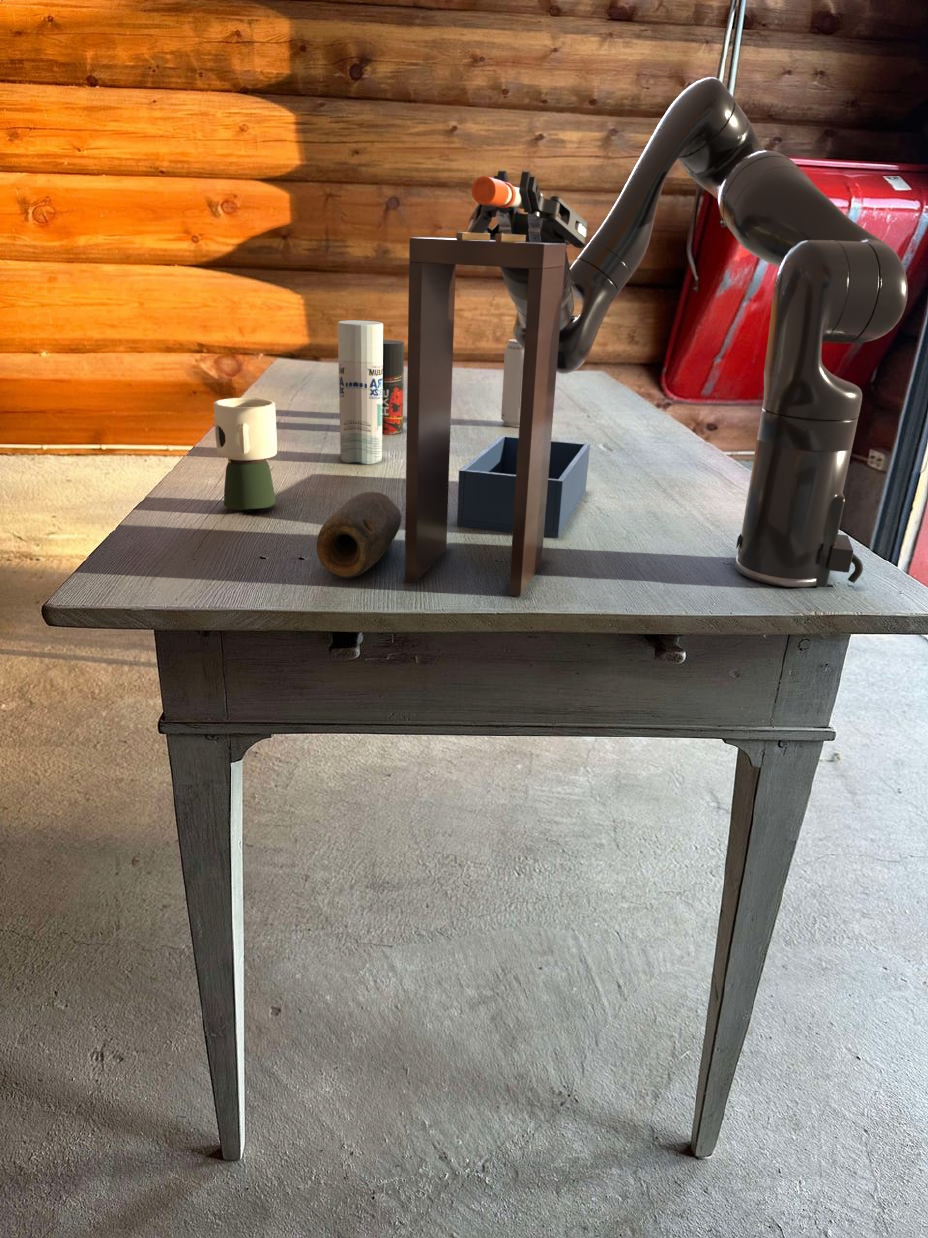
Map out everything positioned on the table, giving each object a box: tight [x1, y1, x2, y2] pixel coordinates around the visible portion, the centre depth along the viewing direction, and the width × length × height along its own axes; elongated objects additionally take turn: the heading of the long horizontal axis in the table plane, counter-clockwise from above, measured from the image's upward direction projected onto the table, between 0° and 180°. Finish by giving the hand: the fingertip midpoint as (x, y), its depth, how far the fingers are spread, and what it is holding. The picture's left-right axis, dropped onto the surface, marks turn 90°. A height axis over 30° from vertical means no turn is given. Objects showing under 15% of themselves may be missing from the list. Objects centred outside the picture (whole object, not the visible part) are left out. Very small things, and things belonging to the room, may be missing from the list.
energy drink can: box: [500, 338, 524, 428], centre depth 166 cm, size 6×6×15 cm
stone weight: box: [316, 491, 402, 579], centre depth 96 cm, size 15×7×7 cm, turn 176°
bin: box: [456, 435, 591, 539], centre depth 117 cm, size 12×22×7 cm, turn 164°
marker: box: [471, 175, 524, 210], centre depth 86 cm, size 17×2×2 cm, turn 164°
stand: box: [403, 231, 567, 598], centre depth 89 cm, size 12×11×33 cm
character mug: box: [213, 397, 278, 513], centre depth 110 cm, size 11×7×13 cm, turn 9°
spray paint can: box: [337, 319, 384, 465], centre depth 135 cm, size 6×6×20 cm
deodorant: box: [382, 339, 405, 435], centre depth 157 cm, size 6×6×15 cm
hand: (512, 179), depth 87 cm, fingers closed on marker, 2 cm apart
